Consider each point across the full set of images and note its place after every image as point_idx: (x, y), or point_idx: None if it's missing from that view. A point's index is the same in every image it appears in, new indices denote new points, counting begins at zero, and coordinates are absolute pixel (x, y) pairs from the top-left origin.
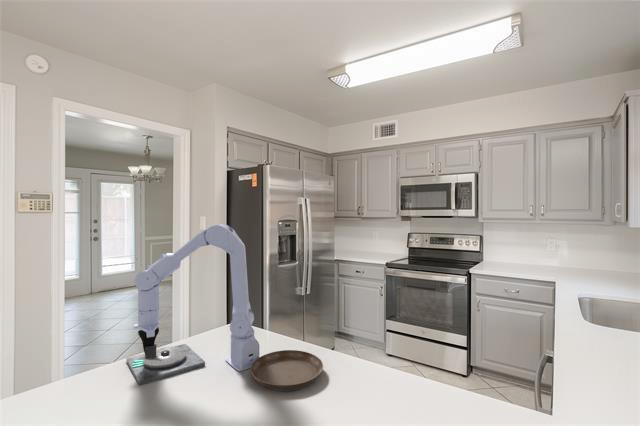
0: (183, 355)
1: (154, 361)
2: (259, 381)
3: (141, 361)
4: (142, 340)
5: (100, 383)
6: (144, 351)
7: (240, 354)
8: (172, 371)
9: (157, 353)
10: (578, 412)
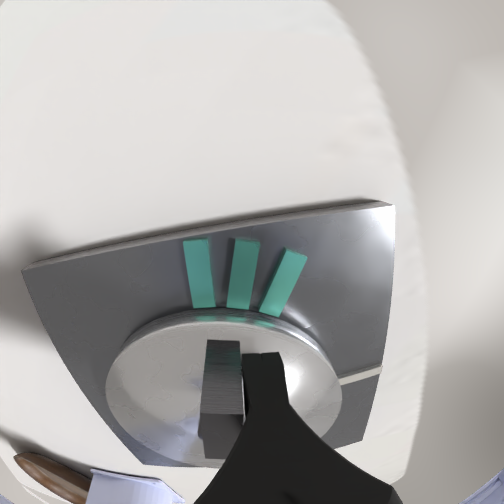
0: (171, 458)
1: (135, 376)
2: (24, 456)
3: (263, 299)
4: (229, 458)
5: (130, 62)
6: (244, 368)
7: (91, 501)
8: (84, 393)
9: None
10: (30, 491)
